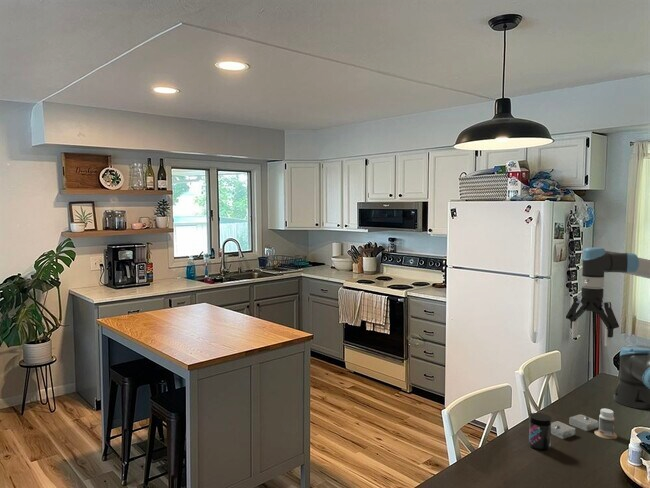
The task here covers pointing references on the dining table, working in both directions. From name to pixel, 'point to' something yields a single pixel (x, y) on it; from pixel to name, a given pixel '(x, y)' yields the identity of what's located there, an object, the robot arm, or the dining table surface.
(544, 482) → the dining table surface
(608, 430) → the pill bottle
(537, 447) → the supplement container
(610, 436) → the cork coaster
